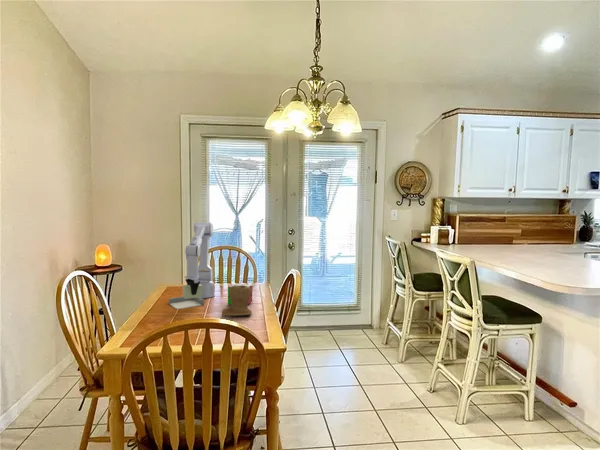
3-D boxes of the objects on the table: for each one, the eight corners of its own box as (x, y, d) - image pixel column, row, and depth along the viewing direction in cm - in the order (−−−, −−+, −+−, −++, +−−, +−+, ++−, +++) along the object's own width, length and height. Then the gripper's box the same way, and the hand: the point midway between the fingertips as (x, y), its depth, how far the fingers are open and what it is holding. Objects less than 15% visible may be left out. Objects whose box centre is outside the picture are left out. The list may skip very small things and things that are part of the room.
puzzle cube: (252, 302, 219) (252, 285, 218) (242, 307, 210) (243, 289, 209) (237, 300, 224) (237, 283, 223) (227, 304, 214) (227, 286, 214)
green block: (199, 294, 208) (199, 283, 208) (202, 296, 204) (202, 285, 204) (182, 296, 204) (182, 285, 203) (184, 298, 200) (184, 287, 199)
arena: (194, 299, 221) (194, 294, 221) (203, 305, 212) (203, 299, 212) (168, 304, 212) (168, 298, 212) (176, 309, 203) (176, 304, 203)
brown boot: (250, 310, 205) (251, 282, 204) (252, 317, 193) (253, 288, 192) (221, 311, 202) (221, 283, 201) (221, 318, 190) (221, 288, 189)
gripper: (181, 266, 207) (181, 291, 208) (188, 271, 194) (188, 297, 196) (194, 265, 210) (194, 289, 212) (202, 270, 198) (202, 296, 199)
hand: (192, 293), depth 204 cm, fingers closed on green block, 4 cm apart
